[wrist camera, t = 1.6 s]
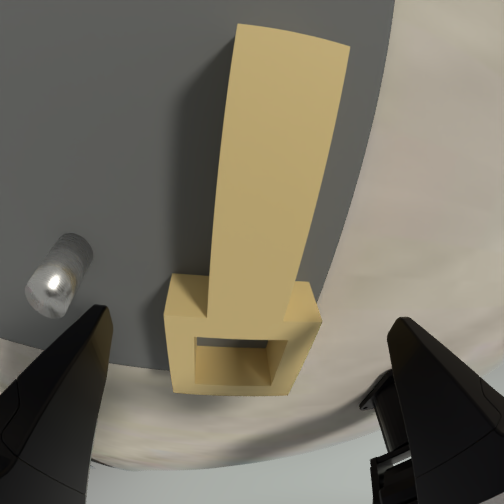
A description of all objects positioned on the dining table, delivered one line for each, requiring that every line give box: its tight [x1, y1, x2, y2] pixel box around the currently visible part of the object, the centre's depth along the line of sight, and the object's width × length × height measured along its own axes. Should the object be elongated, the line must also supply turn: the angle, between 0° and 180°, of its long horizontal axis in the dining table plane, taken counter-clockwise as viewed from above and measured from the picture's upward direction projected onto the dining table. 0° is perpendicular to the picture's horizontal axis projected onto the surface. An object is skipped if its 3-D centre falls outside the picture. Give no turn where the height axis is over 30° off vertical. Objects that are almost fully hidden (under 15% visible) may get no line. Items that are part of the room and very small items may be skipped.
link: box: [164, 24, 350, 396], centre depth 11 cm, size 16×6×3 cm, turn 172°
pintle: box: [25, 233, 93, 319], centre depth 11 cm, size 2×2×3 cm
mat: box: [0, 0, 395, 371], centre depth 10 cm, size 24×25×1 cm
